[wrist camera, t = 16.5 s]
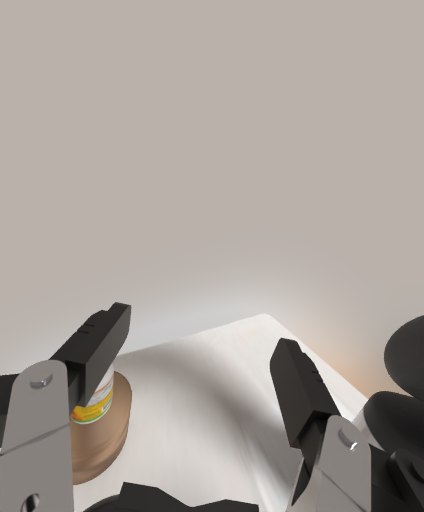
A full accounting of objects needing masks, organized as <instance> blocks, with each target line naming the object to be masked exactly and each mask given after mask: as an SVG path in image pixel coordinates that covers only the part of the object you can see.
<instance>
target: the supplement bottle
mask: <svg viewBox="0 0 424 512" xmlns="http://www.w3.org/2000/svg"><path fill="white" fill-rule="evenodd" d="M113 380H114V364H113V362H112V364H111V365H110V367H109V369H108V370H107V372H106V374H105V376H104V377H103V379H102V381H101V382H100V384H99V386H98V387H97V389H96V391H95V392H94V394H93V396H92V397H91V399H90V401H89V402H88V404H87V406H86V408H85V407H80V406H76V407H75V409H74V410H73V412H72V413H71V415H70V417H71V419H72V420H73V421H74V422H76V423H78V424H89V423H92V422H94V421H96V420H98V419H99V418H101V417H102V416H103V415H104V414H105V413H106V412H107V410H108V409H109V407H110V405H111V402H112V397H113Z"/></svg>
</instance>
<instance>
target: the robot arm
mask: <svg viewBox="0 0 424 512" xmlns="http://www.w3.org/2000/svg"><path fill="white" fill-rule="evenodd" d="M130 315H131V305H127V304H123V303H118V302H115V303H114V304H113V305H112V306H111V308H110V309H109V310H108V311H104V310H101V311H99V312H97V313H95V314H93V315H91V316H90V318H88V319H87V321H86V322H85V323H84V324H83V325H82V326H81V327H80V328H79V329H78V330H77V332H75V333H74V334H73V335H72V336H71V337H70V338H69V339H68V340H67V341H66V342H65V344H63V345H62V347H61V348H60V349H59V350H58V351H57V352H56V353H55V354H54V355H53V356H52V357H51V358H50V359H49V360H46V361H42V362H39V363H36V364H34V365H32V366H30V367H28V368H27V369H25V370H24V371H23V372H22V373H20V374H12V375H2V376H0V448H1V452H0V512H74V500H73V480H72V459H71V439H70V423H69V417H70V415H71V413H72V412H73V410H74V409H75V407H76V406H80V407H85V408H86V406H87V404H88V402H89V401H90V399H91V397H92V396H93V394H94V392H95V391H96V389H97V387H98V386H99V384H100V382H101V381H102V379H103V377H104V376H105V374H106V372H107V370H108V369H109V367H110V365H111V364H112V362H113V360H114V359H115V357H116V355H117V354H118V352H119V350H120V348H121V347H122V345H123V344H124V342H125V340H126V338H127V335H128V332H129V325H130ZM384 362H385V366H386V369H387V371H388V374H389V375H390V377H391V378H392V379H393V381H394V382H395V383H396V384H398V386H400V387H401V388H402V389H403V390H404V391H406V392H407V393H409V394H410V395H412V396H413V397H410V396H406V395H402V394H399V393H395V392H389V391H381V392H377V393H375V394H374V395H372V396H371V397H370V399H369V400H368V401H367V403H366V404H365V406H364V407H363V408H362V410H361V411H360V412H359V414H358V415H357V416H356V418H355V419H354V421H353V422H352V423H351V422H350V421H349V420H347V419H345V418H343V417H342V416H341V414H340V412H339V410H338V408H337V406H336V405H335V403H334V401H333V399H332V397H331V395H330V393H329V391H328V389H327V387H326V385H325V383H323V380H322V378H321V376H320V374H319V372H318V370H317V368H316V366H315V364H314V362H313V361H312V360H311V359H310V358H309V357H308V356H307V355H306V353H302V351H301V349H300V347H299V345H298V343H297V341H294V340H290V339H285V338H280V340H279V341H278V344H277V346H276V348H275V350H274V353H273V355H272V357H271V360H270V373H271V376H272V380H273V384H274V387H275V391H276V395H277V399H278V402H279V406H280V410H281V414H282V417H283V421H284V425H285V428H286V432H287V436H288V440H289V443H290V447H293V448H298V449H301V450H302V453H303V457H302V459H301V461H300V464H299V468H298V471H297V475H296V478H295V481H294V485H293V488H292V492H291V495H290V498H289V502H288V505H287V509H286V511H285V512H424V316H420V317H418V318H415V319H413V320H411V321H409V322H407V323H406V324H404V325H403V326H401V327H400V328H399V329H398V330H397V331H396V332H395V333H394V334H393V335H392V336H391V338H390V339H389V341H388V343H387V345H386V347H385V352H384ZM414 397H415V398H414ZM83 512H259V507H258V505H256V504H250V503H244V502H239V501H233V500H227V499H225V500H221V501H217V502H213V503H209V504H205V505H200V506H196V507H189V506H187V505H185V504H184V503H182V502H180V501H179V500H177V499H175V498H174V497H172V496H170V495H169V494H167V493H165V492H164V491H162V490H161V489H159V488H157V487H151V486H145V485H139V484H133V483H128V482H123V485H122V488H121V491H120V494H118V495H114V496H111V497H108V498H105V499H103V500H101V501H99V502H97V503H95V504H93V505H92V506H90V507H89V508H87V509H86V510H85V511H83Z"/></svg>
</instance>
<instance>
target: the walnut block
mask: <svg viewBox="0 0 424 512" xmlns="http://www.w3.org/2000/svg"><path fill="white" fill-rule="evenodd" d="M131 401H132V391H131V387H130V384H129V382H128V381H127V379H126V378H125V377H124V376H123V375H121V374H120V373H118V372H115V371H114V380H113V397H112V402H111V405H110V407H109V409H108V410H107V412H106V413H105V414H104V415H103V416H102V417H101V418H99V419H98V420H96V421H94V422H92V423H89V424H78V423H76V422H74V421H73V420H72V419H71V417H69V423H70V439H71V459H72V480H73V485H78V484H82V483H85V482H88V481H90V480H92V479H94V478H96V477H97V476H98V475H100V474H101V473H103V472H104V471H105V470H106V469H107V468H108V467H109V466H110V465H111V464H112V463H113V462H114V460H115V459H116V458H117V456H118V455H119V453H120V451H121V450H122V448H123V445H124V443H125V440H126V437H127V432H128V424H129V416H130V409H131Z"/></svg>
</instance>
